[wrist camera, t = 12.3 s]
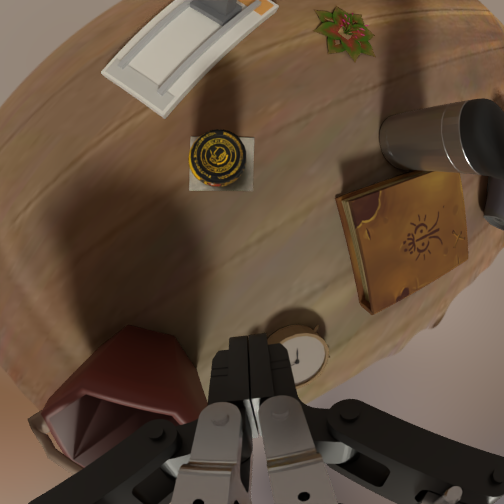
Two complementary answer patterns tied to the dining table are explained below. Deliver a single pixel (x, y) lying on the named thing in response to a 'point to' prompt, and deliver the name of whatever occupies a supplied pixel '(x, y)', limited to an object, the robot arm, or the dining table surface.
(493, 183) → the bluetooth speaker
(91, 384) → the bucket
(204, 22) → the switch board
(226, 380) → the robot arm
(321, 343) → the alarm clock
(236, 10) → the switch lever
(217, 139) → the condiment
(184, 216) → the dining table surface
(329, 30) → the succulent plant
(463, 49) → the dining table surface
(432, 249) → the diary
